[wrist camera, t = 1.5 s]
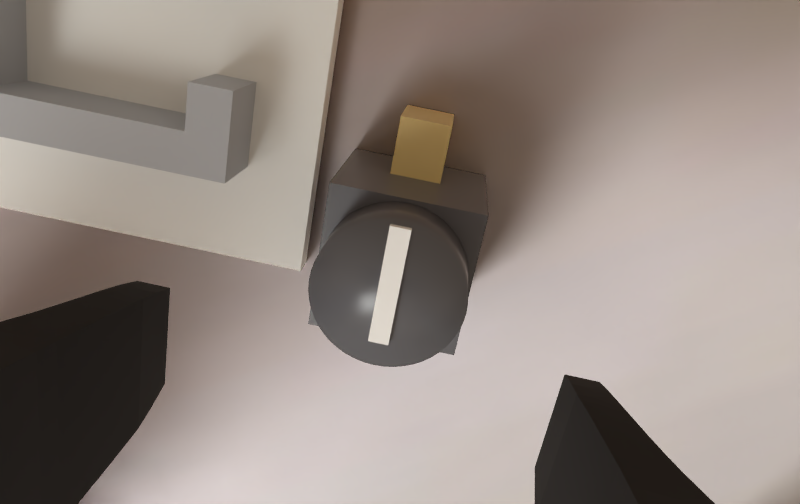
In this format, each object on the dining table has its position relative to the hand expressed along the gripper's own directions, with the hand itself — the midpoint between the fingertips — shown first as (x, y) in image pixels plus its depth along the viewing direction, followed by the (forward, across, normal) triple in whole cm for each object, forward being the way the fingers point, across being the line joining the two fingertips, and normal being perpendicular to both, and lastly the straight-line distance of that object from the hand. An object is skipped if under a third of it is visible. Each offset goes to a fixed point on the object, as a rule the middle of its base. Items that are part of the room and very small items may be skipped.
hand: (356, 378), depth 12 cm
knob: (+10, 0, 0) cm, 10 cm away
